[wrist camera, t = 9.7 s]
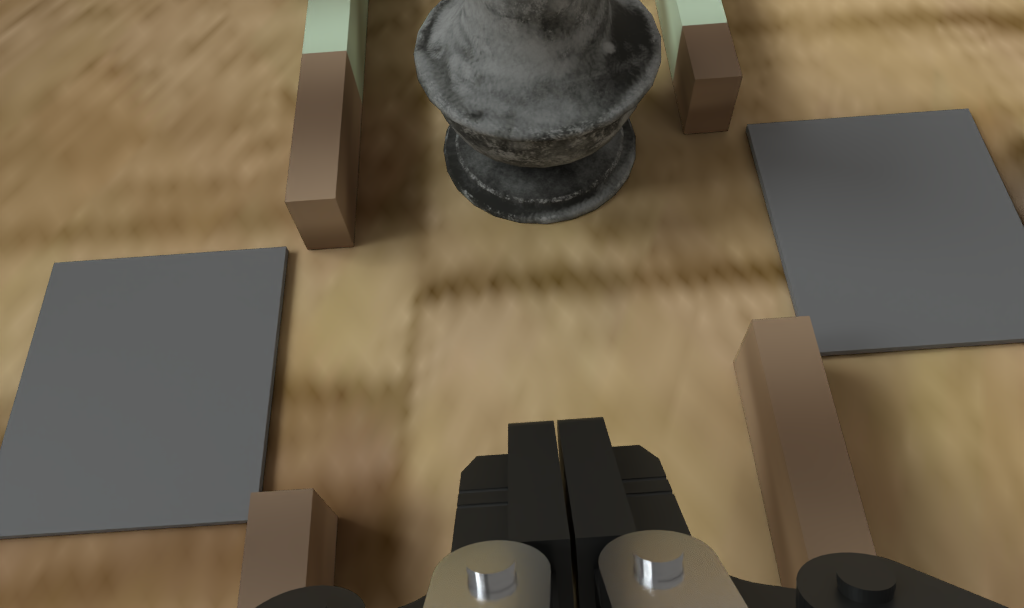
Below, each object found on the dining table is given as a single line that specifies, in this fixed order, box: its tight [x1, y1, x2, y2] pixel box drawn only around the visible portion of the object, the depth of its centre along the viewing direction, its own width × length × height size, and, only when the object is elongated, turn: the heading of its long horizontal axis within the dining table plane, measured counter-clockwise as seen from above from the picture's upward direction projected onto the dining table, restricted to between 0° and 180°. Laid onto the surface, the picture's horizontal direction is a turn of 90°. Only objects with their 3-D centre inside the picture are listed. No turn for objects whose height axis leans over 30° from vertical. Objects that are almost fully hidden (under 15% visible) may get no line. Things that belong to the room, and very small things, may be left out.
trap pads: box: [0, 109, 1024, 539], centre depth 19 cm, size 10×24×1 cm, turn 93°
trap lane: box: [237, 0, 877, 608], centre depth 20 cm, size 22×11×3 cm, turn 3°
